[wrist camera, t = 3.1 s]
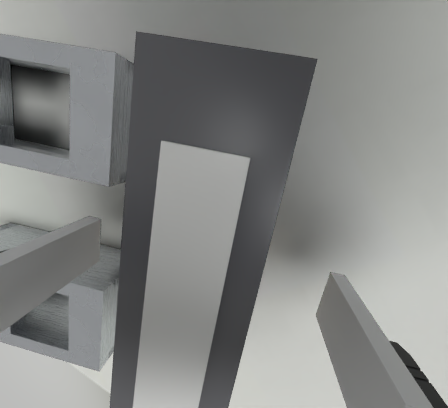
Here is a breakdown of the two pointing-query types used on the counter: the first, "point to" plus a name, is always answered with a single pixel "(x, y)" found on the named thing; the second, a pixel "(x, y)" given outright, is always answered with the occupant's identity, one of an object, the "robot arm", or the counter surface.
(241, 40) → the counter surface
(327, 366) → the counter surface
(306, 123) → the counter surface
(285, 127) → the grey long block
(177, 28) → the counter surface
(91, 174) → the keyhole plates
